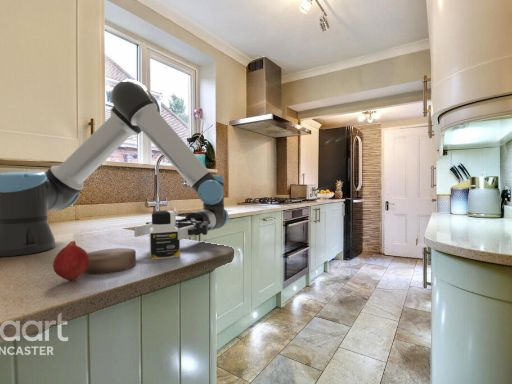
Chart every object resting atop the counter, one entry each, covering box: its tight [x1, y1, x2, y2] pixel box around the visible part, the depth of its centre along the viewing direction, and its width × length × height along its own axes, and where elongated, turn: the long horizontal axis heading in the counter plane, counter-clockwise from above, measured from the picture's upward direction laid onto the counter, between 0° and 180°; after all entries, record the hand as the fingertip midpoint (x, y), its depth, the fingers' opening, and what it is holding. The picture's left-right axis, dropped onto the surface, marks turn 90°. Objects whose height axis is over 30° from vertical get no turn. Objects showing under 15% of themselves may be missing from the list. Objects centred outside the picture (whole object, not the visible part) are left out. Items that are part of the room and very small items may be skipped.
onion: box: [52, 240, 89, 282], centre depth 53 cm, size 6×6×8 cm
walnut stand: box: [83, 247, 137, 275], centre depth 63 cm, size 11×11×3 cm
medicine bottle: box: [148, 209, 181, 261], centre depth 73 cm, size 7×7×12 cm
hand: (156, 232), depth 70 cm, fingers open, 13 cm apart
